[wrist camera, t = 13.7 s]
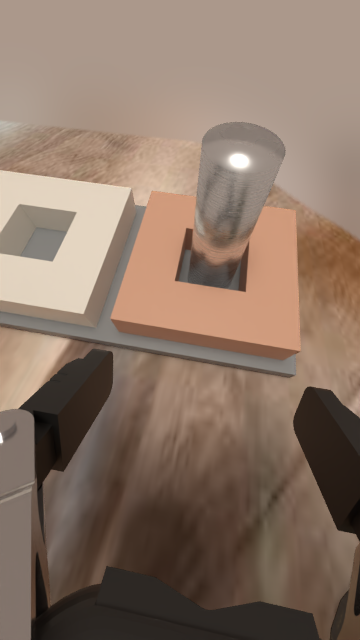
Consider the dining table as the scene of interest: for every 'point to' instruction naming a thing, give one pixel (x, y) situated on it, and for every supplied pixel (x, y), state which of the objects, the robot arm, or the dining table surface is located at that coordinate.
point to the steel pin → (230, 197)
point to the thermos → (339, 618)
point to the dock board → (143, 275)
